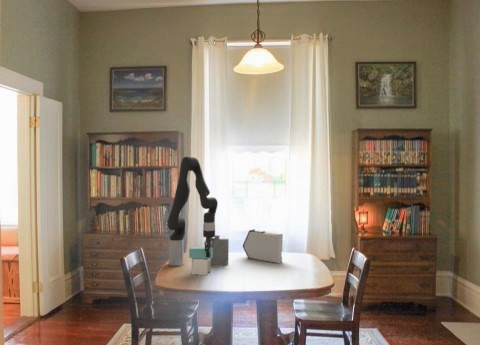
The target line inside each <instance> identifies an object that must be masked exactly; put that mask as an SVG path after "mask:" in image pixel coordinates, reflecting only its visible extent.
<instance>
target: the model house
mask: <svg viewBox="0 0 480 345" xmlns="http://www.w3.org/2000/svg"><path fill="white" fill-rule="evenodd" d="M283 240H284V239H283V233H272V232H266V231H260V230H259V231H256V230H255V229H249V231H248V232H247V235H246V237H245V239H244V241H243V244H242V248H243V250H244V252H245V254H246V257H247V259H249V260H251V259H255V260H259V261H266V262H270V263H276V264H278V263H279V264H280V262H281V263H283V256H282V253H283Z"/></svg>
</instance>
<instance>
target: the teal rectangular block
mask: <svg viewBox="0 0 480 345" xmlns="http://www.w3.org/2000/svg"><path fill="white" fill-rule="evenodd" d="M207 249H208V248H207ZM188 252H189V253H188V255H189V256H188V258H189V259H192V258H203V259H211V258H212V257H213V248H210V257H209V258H208V257H206V251H205V246H191V247H189V251H188Z"/></svg>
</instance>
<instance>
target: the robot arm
mask: <svg viewBox="0 0 480 345" xmlns="http://www.w3.org/2000/svg"><path fill="white" fill-rule="evenodd" d="M189 172H193V174H194V176H195V181H194V184H195V189H196V191H197V193H198V195H199V201H200V206H201V208H203V209H204V210H207V211H206V212H205V213H204V214H203V224H202V230H203V231H202V237H203V238H205V241H203V242H204V247H205V251H206V257H208V258H209V257H210V248H213V240H214V239H213V238H215V235H216V222H215V221H216V214H217V209H218V206H219V205H218V204H219V203H218V199H217V198H215V197H213V196H212V197H210V196H209V195H210V193H211V191H210V189H209V187H208V185H207V182H206V180H205V177H204V174H203V171H202V168H201V164H200V161H199V159H198V158H197V157H193V156H184V157H182V159H181V162H180V166H179V174H178V181H177V185H176V189H175V194H174V199H173V203H172V207H171V210H170V213H169V216H168V219H167V227H168V229H169V230H170V231H173V232H172V233H171V234H170V236H169V251H168V266H172V267H178V266H179V267H180V266H183V265H184V238H185V234H186V233H185V232H186V220H185V218H184V216H183V215H180V213H181V211H182V210H183V208H184V206H185V205H186V204H187V203H188V200H189V198H190V197H189V196H190V192H191V188H190V184H189V181H188V176H189ZM208 196H209V197H208ZM207 248H208V249H207Z"/></svg>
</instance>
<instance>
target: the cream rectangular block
mask: <svg viewBox="0 0 480 345" xmlns="http://www.w3.org/2000/svg"><path fill="white" fill-rule="evenodd" d="M208 272H210V273H211V265H210V259H203V258H191V275H195V274H198V276H208Z"/></svg>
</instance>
